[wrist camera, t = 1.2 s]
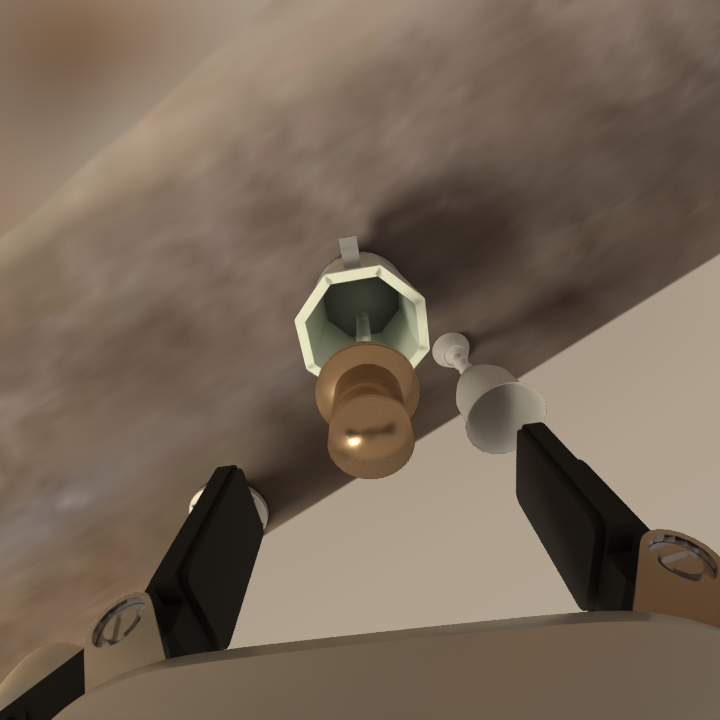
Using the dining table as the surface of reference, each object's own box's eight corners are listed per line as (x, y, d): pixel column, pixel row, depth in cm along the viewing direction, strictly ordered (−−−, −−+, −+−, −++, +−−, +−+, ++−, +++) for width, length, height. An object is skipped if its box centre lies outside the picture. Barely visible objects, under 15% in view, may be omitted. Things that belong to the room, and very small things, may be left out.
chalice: (443, 315, 44) (498, 368, 27) (486, 337, 45) (564, 401, 28) (416, 362, 46) (450, 436, 30) (457, 381, 48) (512, 464, 31)
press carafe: (410, 334, 45) (437, 386, 30) (325, 347, 45) (310, 405, 31) (398, 226, 40) (422, 224, 25) (303, 243, 41) (272, 251, 26)
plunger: (393, 339, 35) (444, 487, 15) (340, 348, 35) (318, 505, 15) (385, 285, 33) (432, 372, 13) (329, 295, 33) (288, 394, 13)
